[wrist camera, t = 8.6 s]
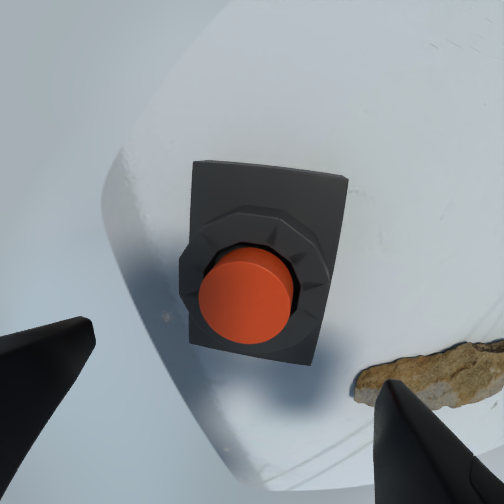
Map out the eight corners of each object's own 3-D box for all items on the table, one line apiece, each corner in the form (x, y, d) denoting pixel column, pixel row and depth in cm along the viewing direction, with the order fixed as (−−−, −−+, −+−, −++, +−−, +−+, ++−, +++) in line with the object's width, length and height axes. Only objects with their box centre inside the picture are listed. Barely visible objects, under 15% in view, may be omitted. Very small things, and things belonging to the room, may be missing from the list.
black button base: (311, 344, 17) (309, 388, 14) (201, 324, 18) (177, 362, 15) (343, 175, 14) (354, 182, 10) (208, 159, 15) (176, 162, 11)
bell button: (286, 328, 13) (283, 351, 12) (210, 314, 14) (197, 334, 12) (299, 254, 12) (297, 269, 10) (213, 241, 13) (198, 254, 11)
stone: (352, 410, 18) (355, 438, 16) (353, 358, 17) (357, 385, 15) (501, 376, 15) (515, 396, 13) (514, 323, 14) (533, 341, 12)
